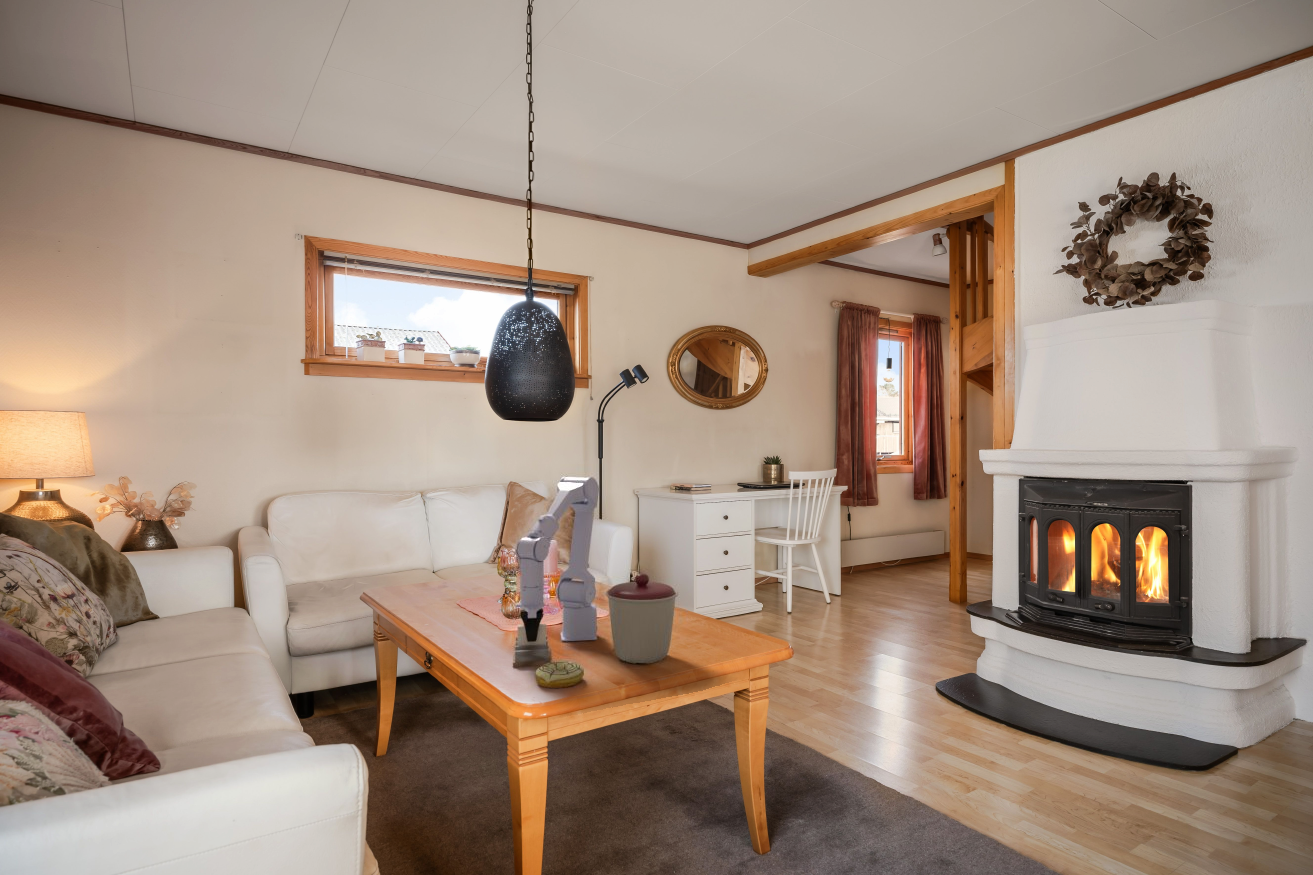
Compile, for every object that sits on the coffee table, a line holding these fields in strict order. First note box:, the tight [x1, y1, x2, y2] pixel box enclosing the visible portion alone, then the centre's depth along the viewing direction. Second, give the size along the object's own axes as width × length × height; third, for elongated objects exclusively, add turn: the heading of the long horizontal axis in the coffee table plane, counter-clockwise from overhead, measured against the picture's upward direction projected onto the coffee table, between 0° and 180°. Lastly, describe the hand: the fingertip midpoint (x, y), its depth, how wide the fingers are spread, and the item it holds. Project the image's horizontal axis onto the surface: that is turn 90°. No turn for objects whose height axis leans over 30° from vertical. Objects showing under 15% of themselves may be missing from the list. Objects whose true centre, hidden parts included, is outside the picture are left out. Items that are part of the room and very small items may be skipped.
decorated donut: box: [535, 659, 585, 689], centre depth 161 cm, size 10×11×4 cm
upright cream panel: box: [517, 623, 547, 646], centre depth 179 cm, size 7×2×7 cm, turn 100°
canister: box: [605, 573, 679, 664], centre depth 178 cm, size 18×18×21 cm
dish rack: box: [512, 635, 552, 668], centre depth 179 cm, size 9×14×4 cm, turn 10°
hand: (531, 639), depth 179 cm, fingers closed on upright cream panel, 2 cm apart
